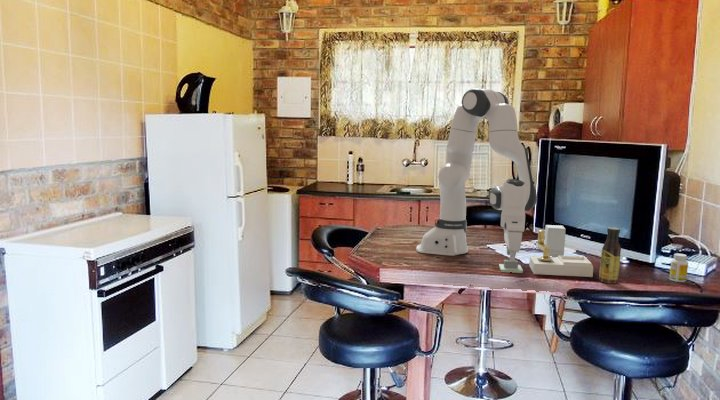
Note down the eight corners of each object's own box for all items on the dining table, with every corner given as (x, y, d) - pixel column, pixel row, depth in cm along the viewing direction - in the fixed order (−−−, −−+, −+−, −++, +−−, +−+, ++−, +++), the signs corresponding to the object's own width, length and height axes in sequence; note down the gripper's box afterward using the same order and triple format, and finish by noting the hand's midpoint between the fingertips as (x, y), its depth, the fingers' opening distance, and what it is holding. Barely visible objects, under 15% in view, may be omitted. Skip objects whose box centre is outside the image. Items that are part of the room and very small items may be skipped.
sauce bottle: (595, 279, 199) (599, 226, 196) (611, 279, 200) (616, 225, 196) (604, 284, 193) (609, 229, 190) (621, 284, 193) (626, 229, 190)
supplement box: (564, 258, 229) (566, 228, 227) (545, 257, 230) (547, 227, 228) (561, 254, 236) (563, 225, 234) (543, 252, 237) (545, 224, 235)
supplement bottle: (668, 280, 199) (670, 254, 197) (670, 277, 203) (673, 252, 201) (685, 283, 195) (687, 257, 194) (687, 280, 200) (689, 254, 198)
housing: (533, 273, 205) (534, 261, 204) (529, 266, 216) (530, 253, 215) (592, 276, 202) (593, 263, 201) (584, 268, 213) (585, 256, 212)
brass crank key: (534, 255, 217) (535, 230, 215) (544, 255, 217) (545, 230, 215) (542, 261, 207) (543, 235, 205) (552, 261, 207) (554, 235, 205)
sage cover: (500, 273, 207) (501, 263, 207) (498, 267, 215) (499, 257, 215) (522, 274, 206) (523, 264, 206) (519, 268, 214) (520, 258, 213)
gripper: (501, 217, 218) (499, 250, 220) (507, 227, 198) (505, 264, 200) (517, 217, 217) (515, 251, 219) (525, 228, 197) (522, 265, 199)
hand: (510, 257), depth 210 cm, fingers open, 8 cm apart
